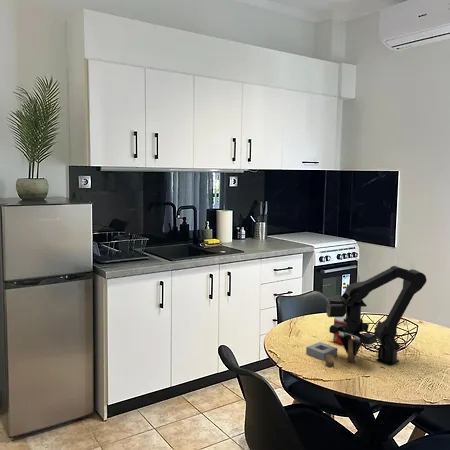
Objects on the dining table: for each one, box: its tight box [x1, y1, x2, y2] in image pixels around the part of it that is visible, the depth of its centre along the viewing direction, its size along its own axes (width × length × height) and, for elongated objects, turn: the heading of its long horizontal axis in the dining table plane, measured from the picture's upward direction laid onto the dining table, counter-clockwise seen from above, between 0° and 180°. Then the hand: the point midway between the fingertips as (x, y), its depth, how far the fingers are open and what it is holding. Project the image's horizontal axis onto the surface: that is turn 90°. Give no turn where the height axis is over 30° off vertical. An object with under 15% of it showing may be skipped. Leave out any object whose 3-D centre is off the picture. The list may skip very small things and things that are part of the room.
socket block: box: [305, 341, 338, 362], centre depth 196 cm, size 9×9×3 cm
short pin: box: [325, 355, 335, 368], centre depth 185 cm, size 3×3×4 cm
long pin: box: [346, 338, 356, 364], centre depth 189 cm, size 3×3×9 cm
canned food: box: [332, 315, 353, 346], centre depth 210 cm, size 8×8×11 cm
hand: (351, 354), depth 189 cm, fingers closed on long pin, 3 cm apart
